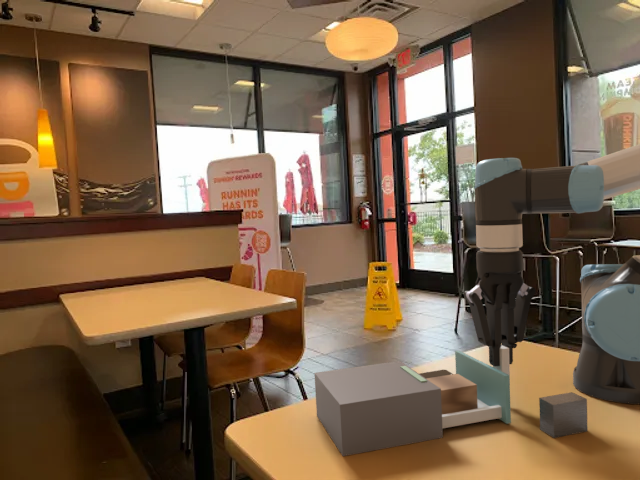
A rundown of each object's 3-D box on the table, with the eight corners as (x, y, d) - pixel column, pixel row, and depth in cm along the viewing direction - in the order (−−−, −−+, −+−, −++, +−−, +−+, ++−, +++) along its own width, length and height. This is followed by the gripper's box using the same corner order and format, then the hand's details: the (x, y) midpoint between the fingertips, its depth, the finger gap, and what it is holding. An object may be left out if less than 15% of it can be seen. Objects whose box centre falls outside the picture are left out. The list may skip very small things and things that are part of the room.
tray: (460, 390, 92) (458, 350, 91) (510, 422, 77) (509, 375, 77) (381, 403, 88) (379, 361, 87) (419, 439, 73) (417, 389, 73)
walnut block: (458, 395, 87) (457, 373, 86) (477, 408, 81) (476, 384, 81) (422, 401, 85) (421, 379, 85) (439, 415, 79) (438, 390, 79)
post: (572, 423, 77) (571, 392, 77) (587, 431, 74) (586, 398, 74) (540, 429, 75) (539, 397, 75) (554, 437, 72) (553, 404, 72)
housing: (401, 401, 89) (399, 359, 88) (442, 437, 74) (440, 387, 74) (316, 415, 85) (314, 371, 84) (342, 456, 70) (339, 403, 70)
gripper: (517, 245, 89) (519, 371, 91) (453, 250, 86) (456, 380, 88) (546, 248, 82) (547, 385, 84) (477, 253, 79) (480, 395, 81)
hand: (501, 382), depth 86 cm, fingers closed
